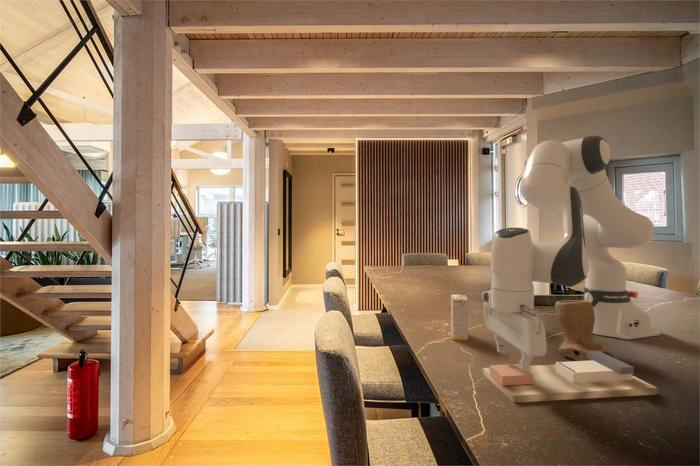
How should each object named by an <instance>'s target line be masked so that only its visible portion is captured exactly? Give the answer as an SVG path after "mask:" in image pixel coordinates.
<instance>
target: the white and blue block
mask: <svg viewBox="0 0 700 466" xmlns="http://www.w3.org/2000/svg"><path fill="white" fill-rule="evenodd" d="M587 357H588V358H590V359H592V360H591V361H577V360H573V361H556V362H555V365H556V372H557V373H558V374H560V375H561V376H563V377H565V378H566V379H568V380H569V381H571V382H572V383H583V382H602V381H621V380H632V375H634V374H635V366H633V365H630V364H628V363H626V362H624V361H622V360H621V359H618V358H615V357H613V356H612V355H609V354H606V353H605V352H604V351H603V352H600V351H587Z"/></svg>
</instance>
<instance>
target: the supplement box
mask: <svg viewBox="0 0 700 466" xmlns="http://www.w3.org/2000/svg"><path fill="white" fill-rule="evenodd" d="M468 304H469V300H468V298H467V296H466V294H451V295H450V333H451V337H452V340H453V341H462V342H463V341H464V342H467V341H469V305H468Z"/></svg>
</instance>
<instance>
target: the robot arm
mask: <svg viewBox="0 0 700 466" xmlns="http://www.w3.org/2000/svg"><path fill="white" fill-rule="evenodd" d="M610 162H611V149H610V146H609V144H608V142H607V140H606V139H605V138H603V137H602V136H600V135H589V136H588V135H586V136H584V137H582V138H577V139H571V140H567V141H563V142H561V141H558V140H544V141H542V142H540V143H538V144H536V145H535V146H534V147H533V149H532V150H531V152H530V154H529V155H528V156H527V158H526V160H525V162H524V168H523V172H522V175H521V180H520V186H519V188H520V189H519V190H520V193H521V196H522V198H523V199H524V200H525V201H526V202H527V203H528V204H530V205H531V206H533V207H535V208H536V209H540V210H544V211H547V212H552V213H555V214H557V215H559V216H561V217H562V233H563V236H562V238H561V239H560V240H559V239H558V240H555V241H552V240H551V241H550V240H549V241H547V240H543V241H542V240H532V236H531V232H530V230H528V229H527V228H523V227H507V228H501V229H499V230H498V229H497V231H495V232H494V233H493V236H492V240H491V246H490V247H491V248H490V271H491V274H492V280H491V284H490V288H491V290H490V289H489V290H486V291H483V292H482V293H481V298H482V301H484V302H483V316H484V317H483V318H484V319H483V322H484V324H485V327H486V329H487V330H489V331H491V332H492V333H493V336H494V337H493V338H494V339H495V343H496V351H497V353H499V354H501V355H505V354H508V346H507V345H506V342H508V343H509V344H510V345H512V346H513V347H515V348H516V349H518V350H519V351H520V355H521V358H520V359H518V361H517V362H518V363H517V364H519V365H518V366H519V368H520V369H522V370H523V371H528V370H530V366H531V362H532V360H533V358H534V357H542V356H545V355H546V353H547V347H548V346H547V336H546V335H547V334H546V328H545V327H546V326H545V323H544V321H543V320H542V318H541V317H540V315H539V313H538V311H537V310H536V309H535V292H534V291H535V288H534V287H535V285H534V283H535V282H537V283H546V284H554V285H559V286H563V287H570V288H572V287H574V286H576V285H578V284H580V283H581V282H583V281H585V284H584V287H583V300H587V301H590V302H591V303H592V305H593V308H594V315H595V323H594V328H593V334H594V335H599V336H603V337H612V338H618V339H621V340H634V339H640V338H641V339H643V338H649V337H657V336H661V331H660V330H658V329H657V328H654V327H652V322H651V317H650V316H649V314H648V313H647V312H646V311H644V310H643V309H641V307H639V306H637V305H636V304H635V303H634V302H633V301H632V300H631V299H632V298H633V299H637V298H638V297H639V293H638V292H637V291H633V290H630V291H628V290H627V287H626V285H627V280H626V279H627V269H626V267H625V265H624V264H623V263H622V262H621V261H620V260H618V259H617V258H614V257H613V256H612V254H610V252H609V250H608V248H615V249H616V248H617V249H633V248H635V249H636V248H642V247H643V248H644V247H646V246H647V245H649V244H650V243H651V241H652V240H653V238H654V236H655V225H654V224H653V223H654V222H652V220H650V218H649V217H648V216H645V215H644V214H640V213H638V212H637V211H634V210H632V209H631V208H629V207H628V206H627V205H626V204H624V203H623V202H622V201H621V200H620V199H619V198H618V196H617V195H616V193H615V192H614V189H613V187H612V185H611V183H610V181H609V180H610V179H609V178H608V176H607V172H606V170H605V169H607V167H608V166H609V164H610ZM533 282H534V283H533Z"/></svg>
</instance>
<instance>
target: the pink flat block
mask: <svg viewBox="0 0 700 466" xmlns="http://www.w3.org/2000/svg"><path fill="white" fill-rule="evenodd" d="M518 365H519V363H514V364H513V363H511V364H510V363H509V364H494V365H493V364H492V365H491V364H490V365H489V368H490V375H491V376H493V377H494V378H495V379H496V380H497V381H498V382H499V383H500V384H501V385H520V384H533V374H531V373H530V372H529V371H523V370H522V369H520V368H519V366H518Z"/></svg>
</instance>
